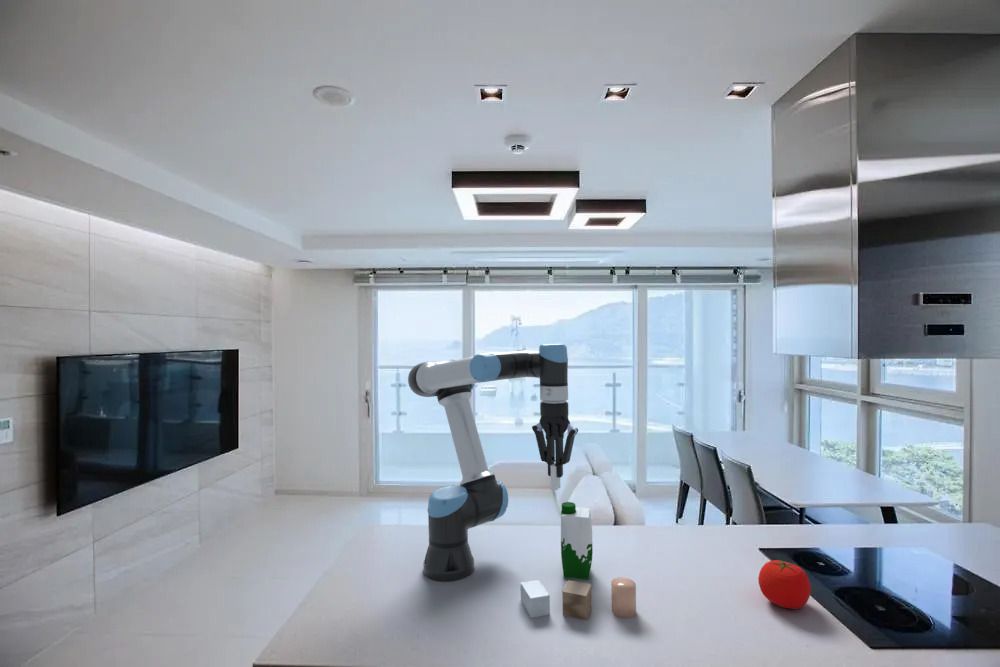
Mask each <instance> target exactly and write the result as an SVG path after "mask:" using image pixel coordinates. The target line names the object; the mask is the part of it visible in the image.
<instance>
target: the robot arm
mask: <svg viewBox="0 0 1000 667" xmlns="http://www.w3.org/2000/svg"><path fill="white" fill-rule="evenodd" d="M538 348H539V349H538V350H529V349H516V350H511V351H498V352H489V351H488V352H487V351H486V352H481V353H477V354H475V355H473V356H469V357H464V358H459V359H449V360H438V361H436V360H435V361H425V362H420V363H417V364H416V365H415V366H413V367H412V368H411V370H410V371H409V373H408V377H407V383H408V384H407V385H408V386H409V388H410V390H411V391H412V392H413V393H414V394H415V395H417V396H420V397H423V398H433V397H436V399H437V403H438V405H441V407H444V411H445V415H446V420H447V423H448V426H449V430H450V433H451V438H452V442H453V445H454V448H455V453H456V457H457V460H458V464H459V468H460V472H461V476H462V479H461V481H460V482H459V485H454V484H453V485H450V486H449V485H447V486H444V487H443V486H442V487H440V488H438V489H436V490H434V491H433V492H431V494H430V496H429V497H428V504H427V505H428V506H427V507H428V508H427V514H428V515H427V516H428V519H427V520H428V547H427V550H426V553H425V557H424V559H423V567H422V568H423V574H424V573H425V574H424V575H425V576H426V577H427V576H428V577H427V578H429V579H431V580H434V581H441V582H450V581H451V582H452V581H456V580H461V579H463V578H466V577H468V576H469V575H471V574H472V573H473V571H474V569H475V560H474V559H475V558H474V556H473V554H472V551H471V547H470V544H469V538H468V537H469V536H468V535H469V533H468V532H469V529H472V528H475V527H477V526H481V525H483V524H486V523H489V522H494V521H495V520H497V519H500V518H502V517H503V516H504V515H505V513H506V511H507V508H508V506H509V493H508V489H507V487H506V485H505V484H504V483H503V482H502V481H501V480H499V479H496V475H495V472H492V471H491V470H489V468H488V464H487V461H486V460H487V459H486V457H485V452H484V449H483V446H482V442H481V438H480V435H479V431H478V428H477V424H476V420H475V417H474V413H473V410H472V406H471V402H470V398H471V397H472V395H473V393H472V390H473V389H474V387H475V384H480V383H489V382H493V381H494V382H495V381H502V380H510V379H511V380H512V379H519V378H521V379H522V378H538V379H539V397H540V398H539V399H540V400H541V402H540V403H539V405H540V407H539V410H540V419H539V422H538V423H536V424H535V425H532V426H531V429H532V431H533V432H534V434H535V439H536V444H537V447H538V448H537V449H538V451H539V452H538V453H539V456H540V460H541V462H545V463H546V464H547V475H548V477H550V490H552V491H558V490H559V489H560V488H561V478H563V476H564V465H566V464H568V463H570V461H571V456H572V451H573V446H574V442H575V437H576V435H578V433H579V429H578V428H577V427H573V426H572V425H571V422H570V420H569V402H568V400H569V387H568V386H569V383H568V382H569V380H568V374H569V373H568V372H569V371H568V369H569V367H568V366H569V364H568V363H569V358H568V348H567V346H566V344H565V343H564V344H563V343H542V344H541V343H540V345H539V347H538ZM566 431H567V432H566ZM544 432H545V435H544ZM565 433H567V435H566V439H565V444H564V438H565Z"/></svg>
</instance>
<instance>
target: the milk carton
mask: <svg viewBox="0 0 1000 667" xmlns="http://www.w3.org/2000/svg"><path fill="white" fill-rule="evenodd" d="M560 515H561V516H560V519H561V520H560V555H561V556H560V557H561V558H560V559H561V565H562V574H563V578H566V579H576V580H587V581H589V580H590V575H591V567H592V562H593V526H592V518H591V510H590V508H589V507H587V508H586V507H581V506H579V507H578V506H577V507H576V503H575V502H570V501H564V502H562V503H561V511H560Z"/></svg>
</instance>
